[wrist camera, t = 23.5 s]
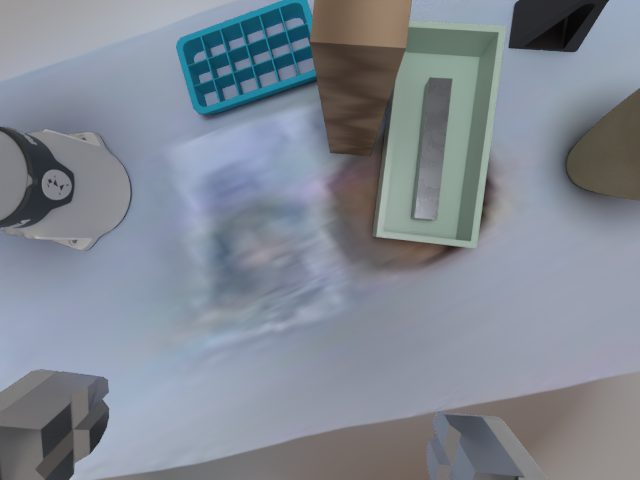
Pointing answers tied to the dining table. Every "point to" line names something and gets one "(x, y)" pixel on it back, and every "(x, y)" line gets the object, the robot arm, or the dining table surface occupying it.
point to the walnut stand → (357, 66)
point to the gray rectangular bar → (431, 148)
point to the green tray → (461, 138)
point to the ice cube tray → (245, 55)
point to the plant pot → (610, 153)
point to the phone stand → (553, 23)
